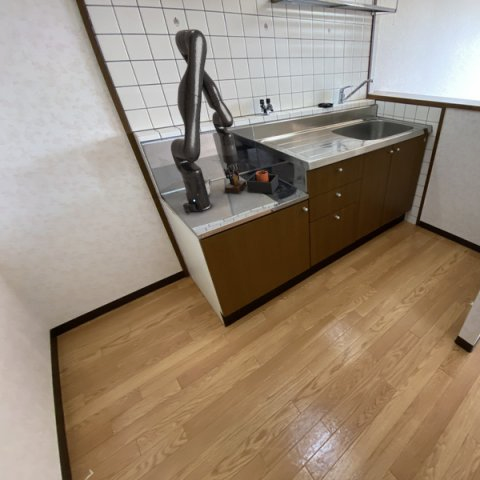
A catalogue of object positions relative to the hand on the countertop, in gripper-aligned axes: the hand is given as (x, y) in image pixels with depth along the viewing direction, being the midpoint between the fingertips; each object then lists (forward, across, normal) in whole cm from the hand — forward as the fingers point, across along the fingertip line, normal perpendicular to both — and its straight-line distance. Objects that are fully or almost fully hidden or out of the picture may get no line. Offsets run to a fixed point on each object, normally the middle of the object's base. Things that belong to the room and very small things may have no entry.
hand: (235, 182), depth 153 cm
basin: (+4, -3, +16) cm, 16 cm away
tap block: (+4, 0, 0) cm, 4 cm away
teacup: (+4, +11, -14) cm, 18 cm away
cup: (+3, -3, +16) cm, 16 cm away
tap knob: (+1, 0, 0) cm, 1 cm away
